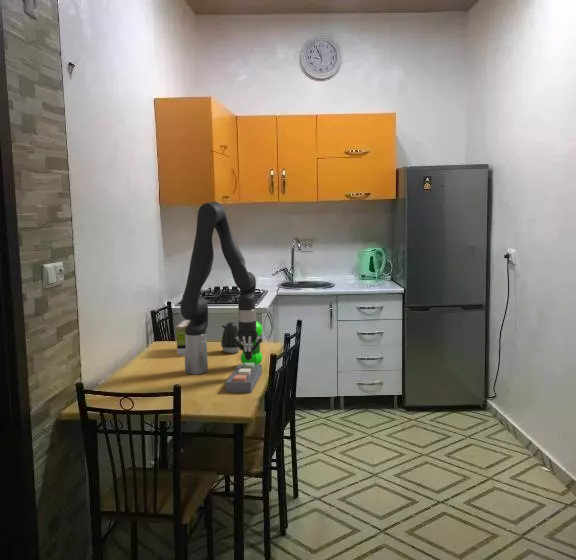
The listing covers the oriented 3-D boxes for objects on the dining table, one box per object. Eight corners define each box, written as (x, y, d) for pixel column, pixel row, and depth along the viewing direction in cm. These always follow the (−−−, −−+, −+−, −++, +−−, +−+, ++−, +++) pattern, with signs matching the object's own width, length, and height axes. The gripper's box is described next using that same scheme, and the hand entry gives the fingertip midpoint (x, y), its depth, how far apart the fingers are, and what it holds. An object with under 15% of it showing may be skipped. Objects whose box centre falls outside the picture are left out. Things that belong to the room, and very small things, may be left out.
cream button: (238, 379, 247) (238, 371, 246) (240, 375, 251) (240, 368, 251) (249, 379, 246) (248, 371, 246) (250, 376, 250) (250, 368, 250)
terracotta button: (233, 385, 238) (233, 378, 237) (236, 382, 242) (235, 374, 242) (244, 386, 237) (244, 378, 237) (246, 382, 242) (246, 374, 241)
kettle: (216, 352, 298) (215, 322, 296) (233, 348, 305) (232, 319, 303) (229, 356, 291) (228, 325, 289) (246, 352, 298) (245, 321, 296)
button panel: (226, 392, 237) (225, 382, 236) (239, 373, 262) (239, 364, 262) (251, 392, 235) (250, 382, 235) (262, 373, 261) (261, 364, 260)
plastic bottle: (238, 369, 268) (236, 313, 265) (243, 362, 278) (241, 309, 275) (260, 369, 267) (259, 314, 264) (264, 363, 277) (263, 309, 274)
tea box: (183, 348, 308) (182, 319, 306) (203, 348, 308) (201, 319, 306) (176, 355, 293) (175, 326, 291) (197, 355, 293) (196, 325, 291)
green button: (242, 372, 255) (242, 365, 255) (244, 369, 260) (244, 362, 259) (252, 372, 255) (252, 365, 254) (254, 369, 259) (254, 362, 259)
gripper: (264, 317, 257) (265, 357, 259) (233, 317, 259) (235, 357, 261) (261, 321, 250) (262, 362, 252) (229, 321, 251) (231, 361, 254)
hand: (248, 359), depth 257 cm, fingers closed
